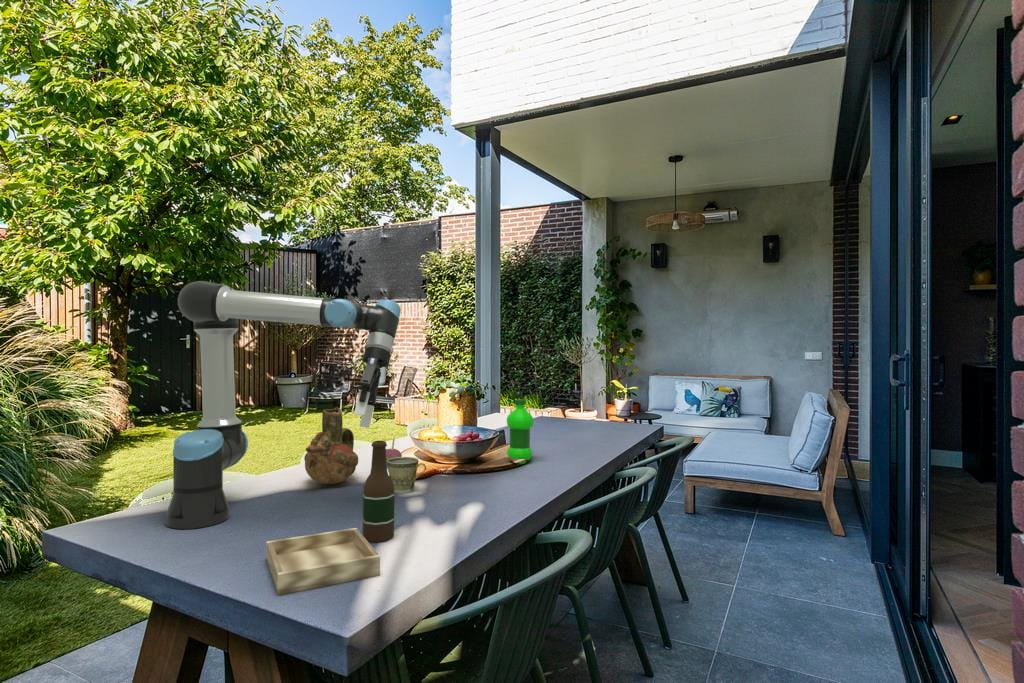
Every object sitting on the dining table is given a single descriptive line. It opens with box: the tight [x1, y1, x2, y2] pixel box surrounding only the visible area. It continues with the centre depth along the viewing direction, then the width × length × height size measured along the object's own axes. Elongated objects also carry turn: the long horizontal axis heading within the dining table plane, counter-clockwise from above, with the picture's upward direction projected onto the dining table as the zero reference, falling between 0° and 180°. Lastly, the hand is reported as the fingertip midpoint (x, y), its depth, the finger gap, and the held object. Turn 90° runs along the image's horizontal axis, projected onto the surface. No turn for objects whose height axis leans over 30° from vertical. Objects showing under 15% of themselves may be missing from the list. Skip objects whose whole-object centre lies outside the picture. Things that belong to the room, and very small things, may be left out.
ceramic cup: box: [387, 456, 427, 495], centre depth 184 cm, size 13×10×10 cm
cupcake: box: [386, 437, 403, 470], centre depth 217 cm, size 9×8×12 cm
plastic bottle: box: [506, 398, 534, 465], centre depth 227 cm, size 10×10×25 cm
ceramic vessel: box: [303, 408, 359, 485], centre depth 192 cm, size 17×26×25 cm, turn 170°
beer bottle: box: [362, 440, 395, 544], centre depth 142 cm, size 8×8×24 cm
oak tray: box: [265, 527, 381, 596], centre depth 124 cm, size 20×20×4 cm
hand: (361, 421), depth 158 cm, fingers open, 13 cm apart
